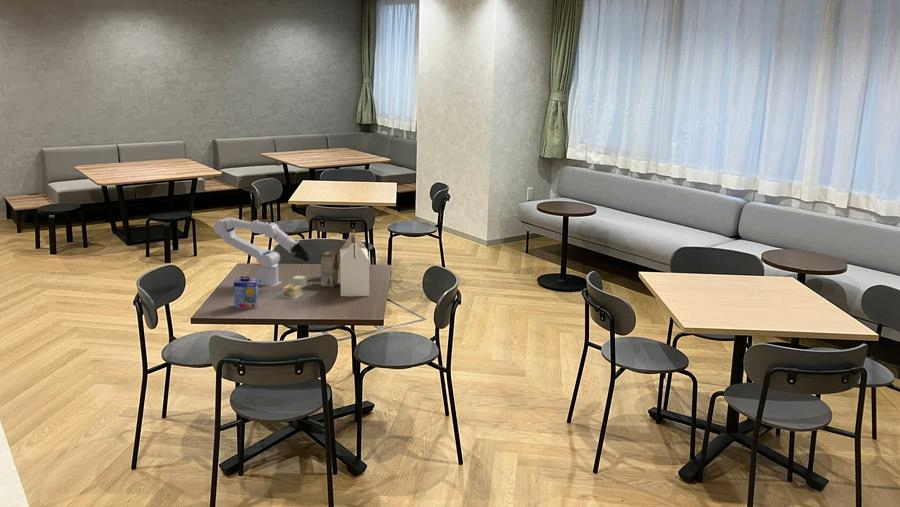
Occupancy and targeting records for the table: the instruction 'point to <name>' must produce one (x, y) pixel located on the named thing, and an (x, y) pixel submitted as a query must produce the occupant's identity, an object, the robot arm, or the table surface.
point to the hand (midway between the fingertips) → (307, 258)
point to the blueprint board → (300, 298)
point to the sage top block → (299, 281)
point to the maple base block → (292, 290)
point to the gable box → (354, 267)
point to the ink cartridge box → (246, 293)
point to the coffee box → (329, 268)
